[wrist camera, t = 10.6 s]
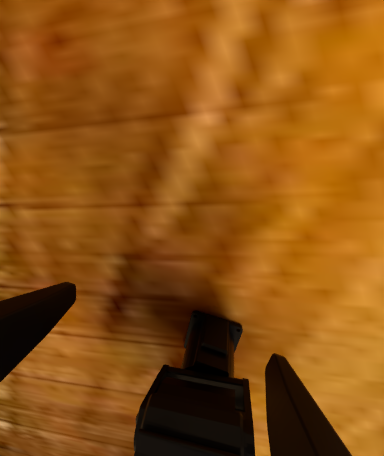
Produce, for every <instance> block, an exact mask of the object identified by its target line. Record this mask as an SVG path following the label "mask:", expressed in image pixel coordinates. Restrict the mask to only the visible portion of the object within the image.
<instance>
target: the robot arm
mask: <svg viewBox="0 0 384 456" xmlns="http://www.w3.org/2000/svg"><path fill="white" fill-rule="evenodd" d="M75 300H76V286H75V284H73V283H70V282H64V283H60V284H57V285H53V286H50V287H47V288H43V289H40V290H36V291H33V292H30V293H26V294H23V295H19V296H16V297H13V298H9V299H6V300H2V301H0V382H1V381H2V380H3V379H4V378H5V377H6V376H7V375H8V374H9V373H10V372H11V371H12V370H13V369H14V368H15V367H16V366H17V365H18V364H19V363H20V362H21V361H22V360H23V359H24V358H25V357H26V356H27V355H28V354H29V353H30V352H31V351H32V350H33V349H34V348H35V347H36V346H37V345H38V344H39V343H40V342H41V341H42V340H43V339H44V338H45V336H46V335H47V334H48V333H49V332H50V331H51V330H52V329H53V328H54V326H55V325H56V324H57V323H58V322H59V320H60V319H61V318H62V317H63V316H64V315H65V313H66V312H67V311H68V310H69V309H70V307H71V306H72V305H73V304H74V302H75ZM242 331H243V329H242V326H241V325H239V324H236V323H233V322H230V321H227V320H223V319H220V318H217V317H214V316H211V315H208V314H205V313H202V312H199V311H193V312H192V315H191V319H190V323H189V327H188V331H187V336H186V340H185V344H184V347H185V348H186V351H185V354H184V358H183V362H182V366H181V368H175V367H170V366H169V365H163V367H162V369H161V370H160V372H159V373H158V375H157V377H156V379H155V380H154V382H153V384H152V386H151V388H150V390H149V391H148V393H147V395H146V397H145V399H144V400H143V402H142V404H141V406H140V409H139V412H138V414H137V416H136V429H135V435H134V451H135V454H134V456H255V445H254V430H253V419H252V409H251V400H250V390H249V380H248V379H244V378H243V379H238V378H234V352H235V350H236V347H237V344H238V342H239V339H240V337H241V334H242ZM265 383H266V412H267V427H268V436H269V444H270V452H271V456H352V455H351V454H350V452H349V451H348V449H347V448H346V446H345V445H344V443H343V442H342V440H341V439H340V437H339V436H338V434H337V433H336V431H335V430H334V429H333V427H332V426H331V424H330V423H329V421H328V420H327V418H326V417H325V415H324V414H323V412H322V411H321V409H320V408H319V406H318V405H317V404H316V402H315V401H314V399H313V398H312V396H311V395H310V393H309V392H308V390H307V389H306V387H305V386H304V384H303V383H302V381H301V380H300V379H299V377H298V376H297V374H296V373H295V371H294V370H293V368H292V367H291V365H290V364H289V362H288V361H287V359H286V358H285V357H284V356H281V355H278V354H275V353H274V354H272V356H271V358H270V360H269V362H268V364H267V366H266V369H265Z"/></svg>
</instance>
